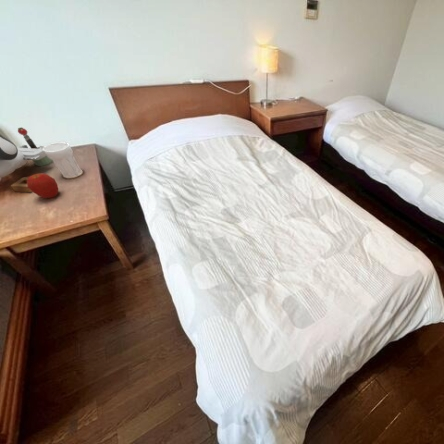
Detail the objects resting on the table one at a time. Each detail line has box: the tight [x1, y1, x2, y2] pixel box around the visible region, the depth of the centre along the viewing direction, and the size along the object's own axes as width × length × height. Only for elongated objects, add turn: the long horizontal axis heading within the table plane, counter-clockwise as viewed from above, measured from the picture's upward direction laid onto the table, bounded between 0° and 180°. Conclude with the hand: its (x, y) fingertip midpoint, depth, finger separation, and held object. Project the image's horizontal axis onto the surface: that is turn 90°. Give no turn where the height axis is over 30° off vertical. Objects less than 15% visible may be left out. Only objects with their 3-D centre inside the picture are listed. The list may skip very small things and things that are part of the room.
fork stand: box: [10, 176, 33, 193], centre depth 130 cm, size 8×8×4 cm
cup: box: [43, 141, 84, 180], centre depth 137 cm, size 11×11×17 cm
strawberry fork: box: [17, 127, 38, 149], centre depth 142 cm, size 4×4×20 cm
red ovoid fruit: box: [27, 173, 59, 199], centre depth 123 cm, size 10×10×14 cm
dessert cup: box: [31, 146, 53, 167], centre depth 147 cm, size 8×8×8 cm
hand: (34, 146), depth 143 cm, fingers open, 8 cm apart
